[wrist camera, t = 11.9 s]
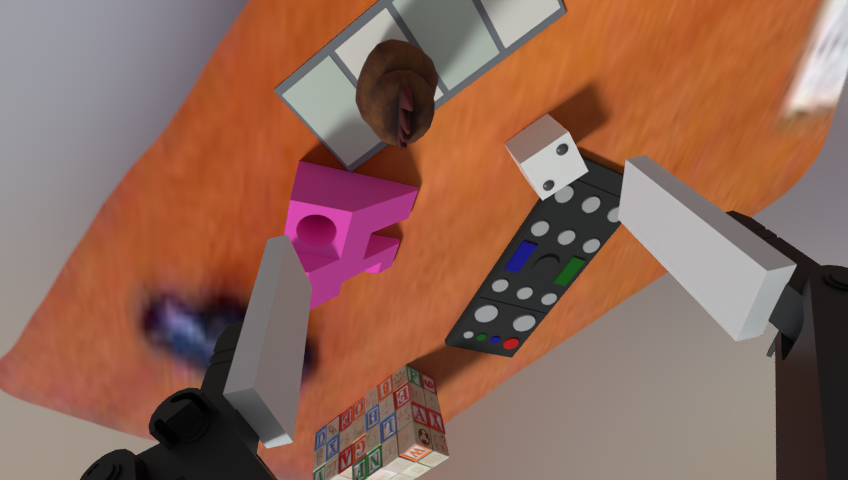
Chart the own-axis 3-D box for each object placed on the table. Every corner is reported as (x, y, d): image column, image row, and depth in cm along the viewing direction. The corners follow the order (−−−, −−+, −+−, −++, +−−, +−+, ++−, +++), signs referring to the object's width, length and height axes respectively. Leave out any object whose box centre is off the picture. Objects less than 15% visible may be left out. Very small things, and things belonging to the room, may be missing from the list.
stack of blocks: (345, 443, 70) (344, 525, 60) (314, 432, 67) (308, 517, 57) (435, 377, 63) (450, 458, 53) (405, 362, 60) (416, 445, 50)
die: (546, 113, 40) (569, 131, 36) (566, 150, 43) (589, 171, 39) (503, 143, 42) (520, 164, 37) (524, 177, 44) (542, 201, 40)
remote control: (443, 336, 58) (446, 348, 57) (568, 149, 44) (576, 157, 42) (508, 349, 62) (512, 360, 61) (642, 181, 48) (653, 190, 46)
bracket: (285, 244, 45) (270, 312, 37) (299, 159, 40) (286, 216, 31) (390, 261, 48) (399, 326, 40) (416, 186, 43) (432, 243, 35)
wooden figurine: (378, 18, 33) (387, 60, 21) (439, 52, 35) (480, 109, 23) (346, 94, 36) (339, 170, 24) (404, 122, 38) (424, 204, 26)
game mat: (514, -115, 30) (515, -116, 30) (565, 12, 35) (566, 12, 35) (273, 89, 35) (273, 90, 35) (350, 172, 41) (350, 173, 41)
